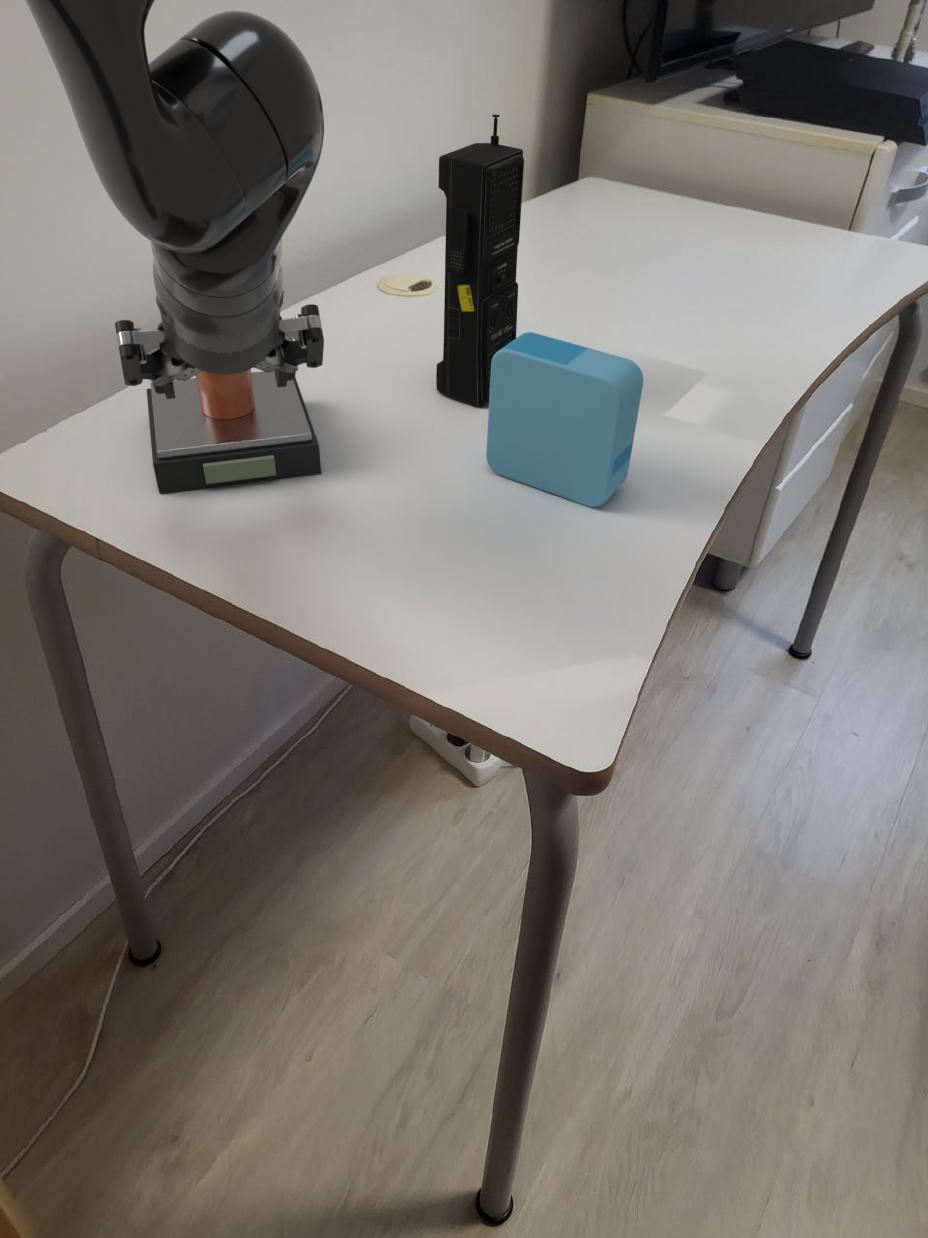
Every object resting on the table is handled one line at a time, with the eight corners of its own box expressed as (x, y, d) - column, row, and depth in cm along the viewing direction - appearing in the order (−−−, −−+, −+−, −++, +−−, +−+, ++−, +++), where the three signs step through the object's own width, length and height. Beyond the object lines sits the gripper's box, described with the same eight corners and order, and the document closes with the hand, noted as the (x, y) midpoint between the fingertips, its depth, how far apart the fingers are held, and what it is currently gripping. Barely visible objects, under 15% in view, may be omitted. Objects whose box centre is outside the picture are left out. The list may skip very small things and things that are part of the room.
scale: (159, 497, 80) (153, 466, 78) (152, 416, 90) (146, 388, 88) (322, 476, 83) (320, 446, 81) (296, 401, 94) (294, 373, 92)
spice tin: (202, 423, 82) (187, 336, 77) (197, 396, 86) (183, 312, 81) (259, 416, 83) (249, 330, 78) (252, 391, 87) (242, 307, 82)
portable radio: (478, 414, 93) (491, 138, 77) (428, 397, 95) (430, 126, 79) (518, 385, 98) (539, 121, 82) (470, 369, 100) (480, 110, 84)
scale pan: (158, 459, 79) (156, 451, 78) (151, 389, 88) (150, 382, 88) (312, 441, 82) (311, 433, 81) (289, 375, 91) (289, 368, 91)
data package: (626, 489, 83) (647, 362, 75) (604, 513, 80) (624, 383, 72) (508, 450, 88) (517, 326, 80) (484, 471, 85) (490, 345, 77)
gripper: (323, 226, 60) (306, 326, 76) (88, 241, 56) (122, 343, 72) (343, 340, 59) (322, 417, 75) (108, 362, 56) (138, 437, 72)
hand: (224, 380), depth 74 cm, fingers open, 8 cm apart
